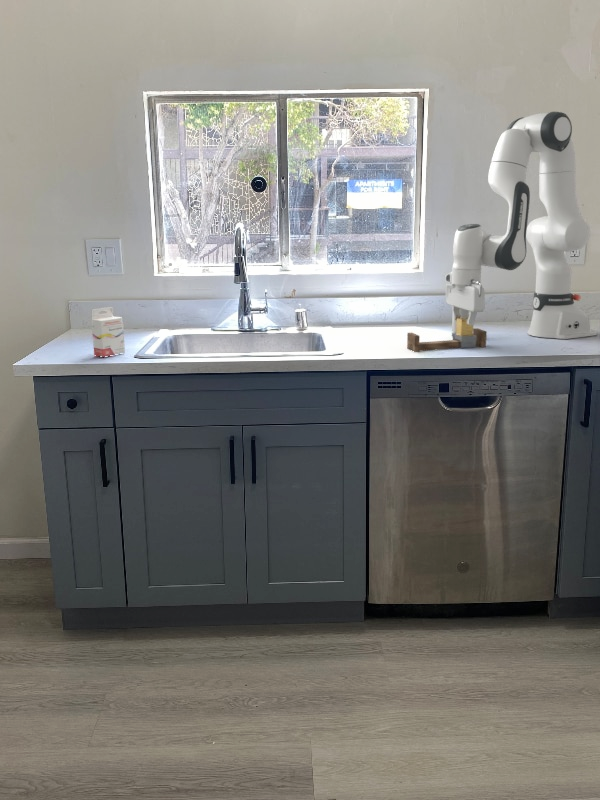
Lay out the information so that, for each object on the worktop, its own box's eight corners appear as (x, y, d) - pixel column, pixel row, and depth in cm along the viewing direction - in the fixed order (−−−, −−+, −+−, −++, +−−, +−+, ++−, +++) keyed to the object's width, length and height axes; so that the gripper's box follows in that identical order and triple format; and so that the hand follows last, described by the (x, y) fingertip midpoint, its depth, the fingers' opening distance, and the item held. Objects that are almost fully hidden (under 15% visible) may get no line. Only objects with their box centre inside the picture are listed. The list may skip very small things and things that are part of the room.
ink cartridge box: (103, 358, 225) (99, 310, 221) (93, 356, 228) (89, 309, 224) (126, 353, 231) (122, 307, 227) (116, 352, 234) (112, 306, 230)
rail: (476, 343, 236) (477, 328, 235) (485, 347, 230) (486, 331, 229) (407, 348, 231) (407, 332, 229) (414, 352, 225) (414, 336, 224)
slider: (466, 343, 235) (467, 316, 233) (475, 346, 229) (477, 319, 227) (452, 344, 234) (453, 317, 232) (461, 348, 228) (462, 320, 226)
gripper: (491, 281, 217) (488, 327, 221) (460, 275, 236) (458, 317, 240) (472, 281, 216) (469, 328, 219) (442, 275, 235) (440, 318, 238)
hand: (463, 322), depth 230 cm, fingers open, 8 cm apart
